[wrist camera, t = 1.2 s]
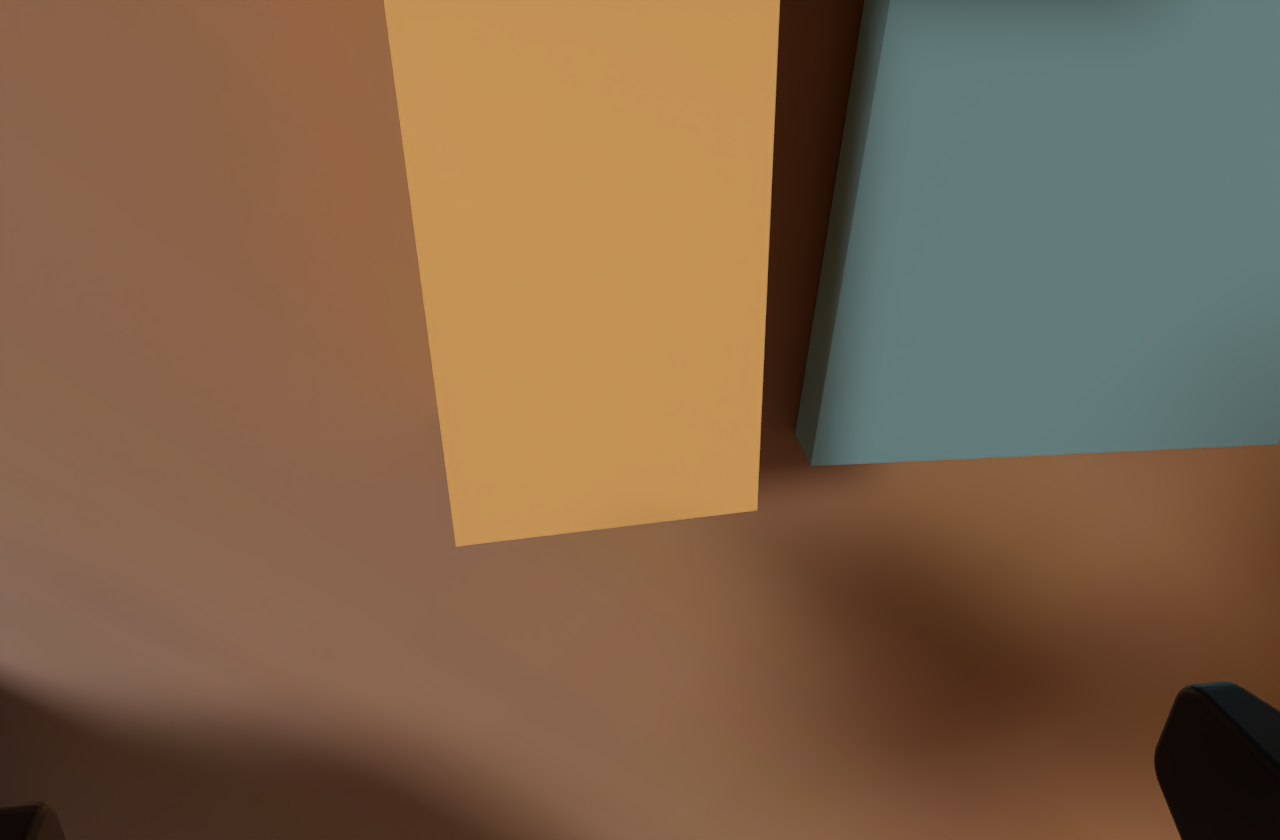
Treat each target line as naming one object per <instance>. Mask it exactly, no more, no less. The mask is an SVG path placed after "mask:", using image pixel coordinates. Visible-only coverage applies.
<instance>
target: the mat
mask: <svg viewBox="0 0 1280 840" xmlns="http://www.w3.org/2000/svg"><path fill="white" fill-rule="evenodd" d="M795 435H796V437H797V439H798V441H799V443H800V445H801V447H802V449H803V451H804V453H805V456H806V458H807V460H808V462H809V464H810V466H827V465H848V464H870V463H891V462H913V461H934V460H956V459H977V458H999V457H1020V456H1042V455H1063V454H1085V453H1106V452H1128V451H1149V450H1171V449H1192V448H1214V447H1235V446H1257V445H1278V443H1279V441H1280V0H864V5H863V11H862V17H861V24H860V30H859V36H858V42H857V49H856V55H855V61H854V68H853V74H852V80H851V86H850V93H849V99H848V105H847V111H846V118H845V124H844V130H843V137H842V143H841V149H840V155H839V162H838V168H837V174H836V180H835V187H834V193H833V199H832V205H831V212H830V218H829V224H828V231H827V237H826V243H825V249H824V256H823V262H822V268H821V274H820V281H819V287H818V293H817V300H816V306H815V312H814V318H813V325H812V331H811V337H810V343H809V350H808V356H807V362H806V369H805V375H804V381H803V387H802V394H801V400H800V406H799V412H798V419H797V425H796V431H795Z"/></svg>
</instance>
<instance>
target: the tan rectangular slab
mask: <svg viewBox="0 0 1280 840" xmlns="http://www.w3.org/2000/svg"><path fill="white" fill-rule="evenodd" d="M384 5H385V13H386V20H387V28H388V36H389V43H390V51H391V58H392V66H393V73H394V81H395V89H396V96H397V104H398V111H399V119H400V126H401V134H402V141H403V149H404V157H405V164H406V172H407V179H408V187H409V194H410V202H411V210H412V217H413V225H414V232H415V240H416V247H417V255H418V263H419V270H420V278H421V285H422V293H423V300H424V308H425V316H426V323H427V331H428V338H429V346H430V353H431V361H432V369H433V376H434V384H435V391H436V399H437V406H438V414H439V421H440V429H441V437H442V444H443V452H444V459H445V467H446V474H447V482H448V490H449V497H450V505H451V512H452V520H453V527H454V535H455V543H456V546H464V545H472V544H480V543H489V542H497V541H505V540H514V539H522V538H531V537H539V536H547V535H556V534H564V533H572V532H581V531H589V530H598V529H606V528H614V527H623V526H631V525H639V524H648V523H656V522H665V521H673V520H681V519H690V518H698V517H706V516H715V515H723V514H732V513H740V512H748V511H757V504H758V482H759V459H760V437H761V415H762V392H763V370H764V348H765V325H766V303H767V280H768V258H769V236H770V213H771V191H772V169H773V146H774V124H775V102H776V79H777V57H778V34H779V12H780V0H384Z"/></svg>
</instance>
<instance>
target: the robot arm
mask: <svg viewBox="0 0 1280 840" xmlns="http://www.w3.org/2000/svg"><path fill="white" fill-rule="evenodd" d="M1154 764H1155V771H1156V776H1157V779H1158V782H1159V785H1160V787H1161V790H1162V792H1163V795H1164V797H1165V800H1166V802H1167V805H1168V807H1169V810H1170V812H1171V815H1172V817H1173V820H1174V822H1175V825H1176V827H1177V830H1178V832H1179V835H1180V837H1181V840H1280V711H1278V710H1277V709H1275V708H1274V707H1272V706H1271V705H1269V704H1267V703H1266V702H1264V701H1263V700H1261V699H1259V698H1258V697H1256V696H1255V695H1253V694H1252V693H1250V692H1248V691H1247V690H1245V689H1244V688H1242V687H1240V686H1238V685H1236V684H1233V683H1230V682H1213V683H1203V684H1193V685H1188V686H1185V687H1184V688H1183V689H1182V690H1180V692H1179V693H1178V694H1177V696H1176V698H1175V701H1174V703H1173V706H1172V708H1171V711H1170V713H1169V716H1168V718H1167V721H1166V723H1165V726H1164V728H1163V731H1162V733H1161V736H1160V738H1159V741H1158V743H1157V746H1156V749H1155V757H1154ZM0 840H65V837H64V834H63V831H62V828H61V825H60V822H59V819H58V816H57V813H56V811H55V809H54V808H53V806H52V805H51V804H50V803H48V802H45V801H33V802H24V803H14V804H4V805H0Z"/></svg>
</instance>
